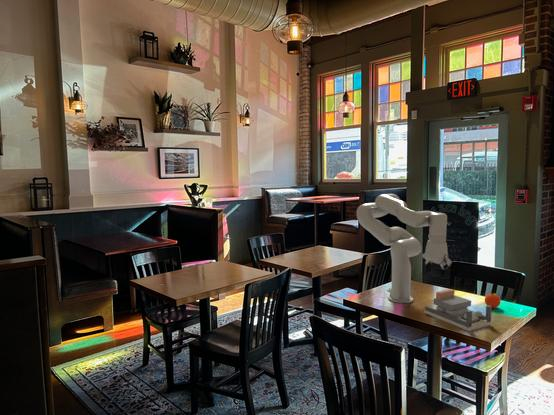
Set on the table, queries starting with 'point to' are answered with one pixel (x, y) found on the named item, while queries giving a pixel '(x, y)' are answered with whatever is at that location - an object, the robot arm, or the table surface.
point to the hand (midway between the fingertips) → (435, 274)
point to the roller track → (456, 315)
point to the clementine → (492, 300)
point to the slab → (450, 300)
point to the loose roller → (474, 316)
